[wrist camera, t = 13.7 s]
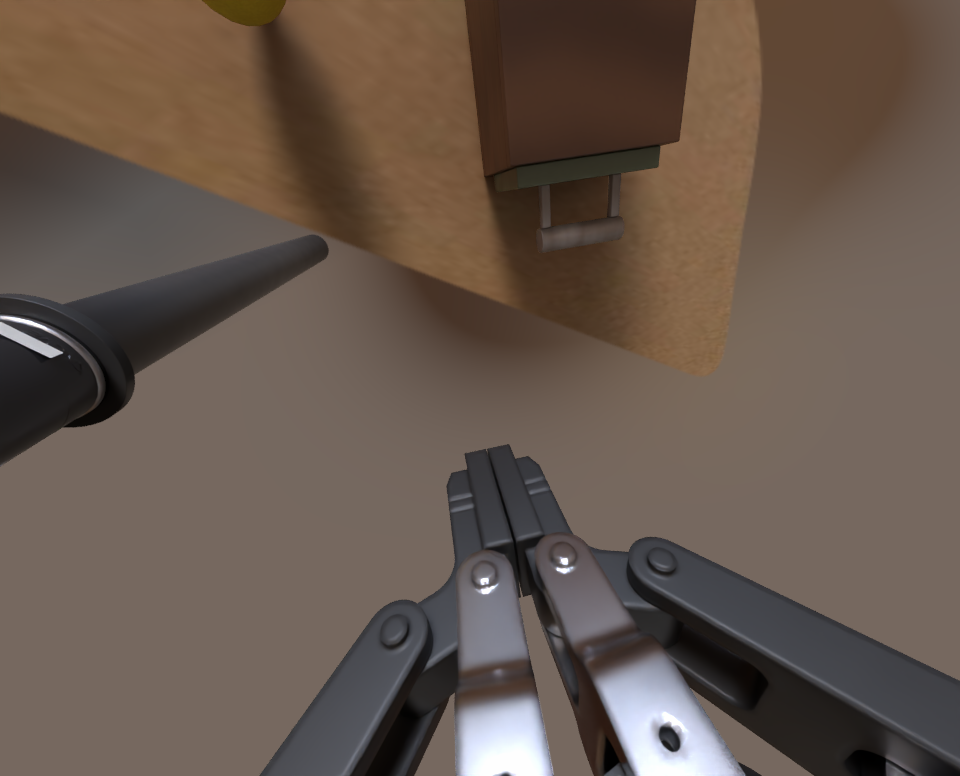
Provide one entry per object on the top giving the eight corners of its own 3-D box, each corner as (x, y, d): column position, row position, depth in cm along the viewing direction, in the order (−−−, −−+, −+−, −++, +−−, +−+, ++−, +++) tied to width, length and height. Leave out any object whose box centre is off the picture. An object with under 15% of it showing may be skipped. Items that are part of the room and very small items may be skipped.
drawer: (605, 231, 30) (652, 237, 24) (500, 248, 29) (522, 259, 23) (613, 13, 24) (680, -51, 18) (479, 28, 23) (502, -34, 17)
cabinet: (609, 158, 28) (679, 141, 21) (484, 177, 28) (510, 166, 20) (617, -28, 23) (713, -139, 16) (463, -13, 22) (488, -122, 15)
